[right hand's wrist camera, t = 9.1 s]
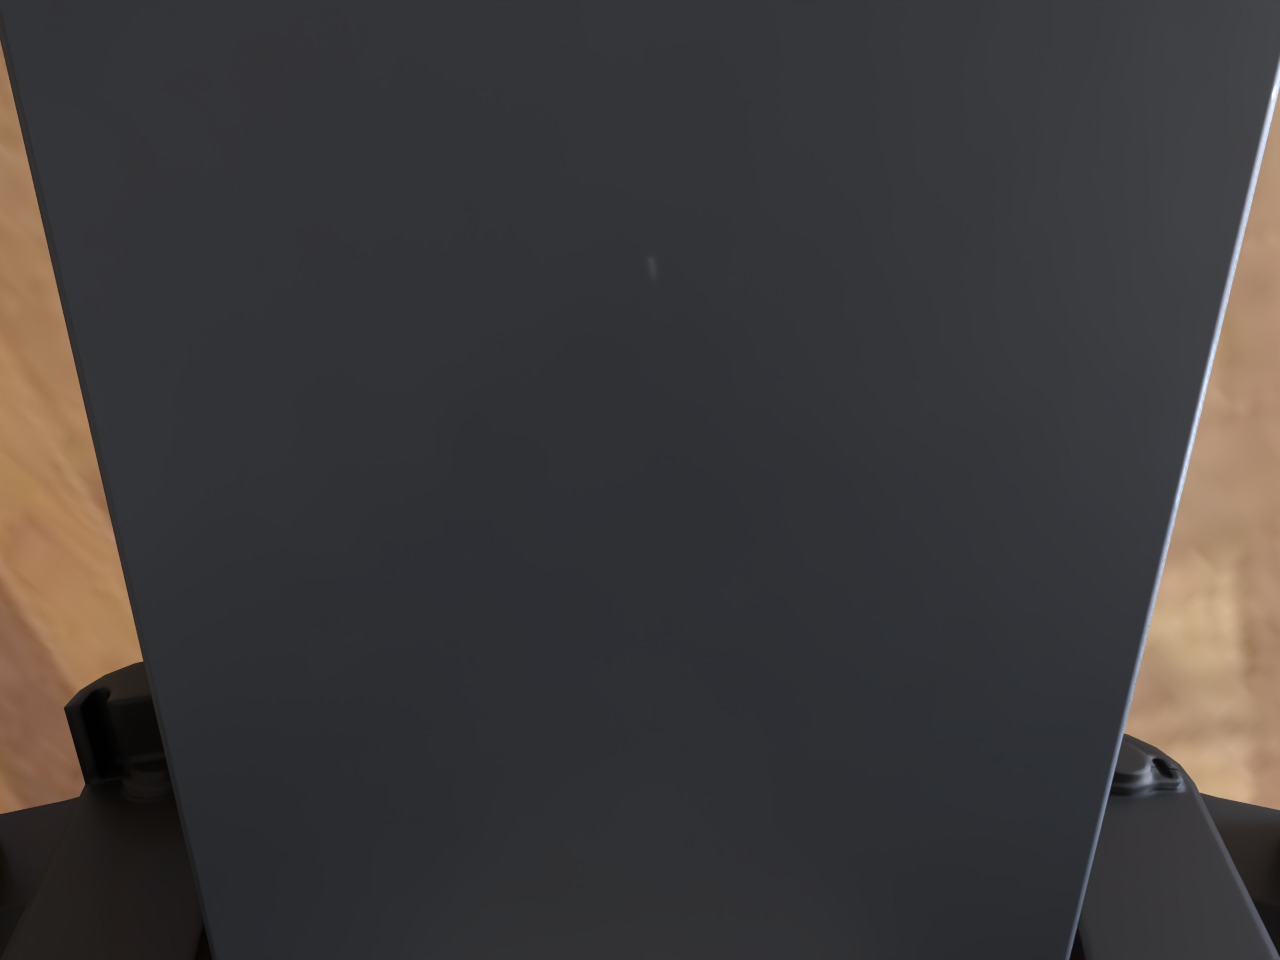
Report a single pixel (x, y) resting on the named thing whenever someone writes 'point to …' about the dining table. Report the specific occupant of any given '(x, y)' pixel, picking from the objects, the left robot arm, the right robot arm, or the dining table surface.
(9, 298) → the dining table surface
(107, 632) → the dining table surface
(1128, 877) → the right robot arm
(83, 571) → the dining table surface
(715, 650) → the beam
